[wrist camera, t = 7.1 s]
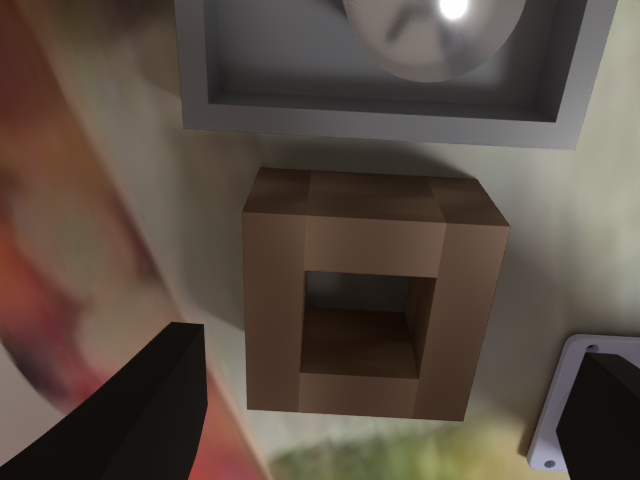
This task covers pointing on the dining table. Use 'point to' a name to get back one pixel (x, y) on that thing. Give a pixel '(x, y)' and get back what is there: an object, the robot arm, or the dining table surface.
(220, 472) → the dining table surface
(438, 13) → the pin
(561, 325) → the dining table surface
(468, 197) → the holder
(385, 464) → the dining table surface
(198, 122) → the tray
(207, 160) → the dining table surface
